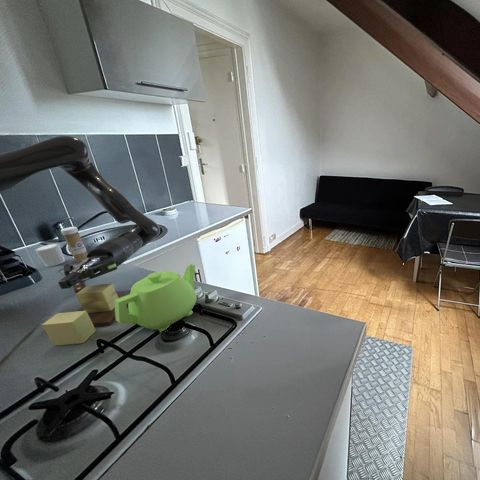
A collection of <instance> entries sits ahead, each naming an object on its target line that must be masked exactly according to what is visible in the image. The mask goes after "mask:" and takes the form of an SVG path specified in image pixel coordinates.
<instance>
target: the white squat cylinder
mask: <svg viewBox="0 0 480 480" xmlns="http://www.w3.org/2000/svg"><path fill="white" fill-rule="evenodd" d="M34 252H35V253H36V255H37V256H38V257H39V259H40V261H41V262H42V263H43V265H44V267H46V268H47V267H48V268H49V267H55V266H58V265H61V264H63V263H65V261H66V260H65V257H64V254H63V251H62V248H61V245H60V243H49V244H45V245H42V246H39V247H37V248H35V249H34Z"/></svg>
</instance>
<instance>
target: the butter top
mask: <svg viewBox="0 0 480 480" xmlns="http://www.w3.org/2000/svg"><path fill="white" fill-rule="evenodd" d="M41 326H42V328H43V329H44V332H45V334H46V335H47V336H48V338H49V340H50V342H51V343H52V345H53V346H54V347H56V346H66V345H67V346H68V345H77V344H84V343H85V342H87V340H88V339H90V338H91V337H92V336H93V335H94V334H95V333H96V331H97V330H96V327H94V325H93V323H92V321H91V319H90V317H89V315H88V313H87V311H81V310H79V311H77V310H76V311H66V312H58V313H56V314H54V315H52V317H50V318H49V319H47V320H46V321H45V322H43V323H42V324H41Z"/></svg>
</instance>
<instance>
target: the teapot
mask: <svg viewBox="0 0 480 480" xmlns="http://www.w3.org/2000/svg"><path fill="white" fill-rule="evenodd" d="M184 271H185V272H184V273H183V276H182V275H180V274H179V273H177V272H175V271H170V270H163V271H154V272H151V273H149V274H148V275H146V276H145V277H144V278H141V279H140V280H138V281H137V282H135V283H134V284H133V285H131V286H132V287H131V289H130V292H129V293H130V294H129V295H126V296H124V297H121V298H118V299H115V300H114V302H115V317H116V320H115V321H116V322H117V323H119V324H136V325H138V326H140V327H143V328H146V329H148V330H159V331H160V332H159V331H158V332H159V333H162V332H161V331H163V330H165V329H167V328H168V327H169V326H170V327H171V325H172V324H175V323H176V322H178V321H180V320H181V319H183V318H186V317H189V316H191V315H192V314H193V313H194V312H193V310H192V309H194V307H195V305H196V303H197V299H198V298H197V294H196V292H195V279H196V278H195V276H196V275H195V274H196V264H193V263H192V264H189V265H187V266H186V268H185V270H184ZM127 303H128V308H127V305H126V304H127Z"/></svg>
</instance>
